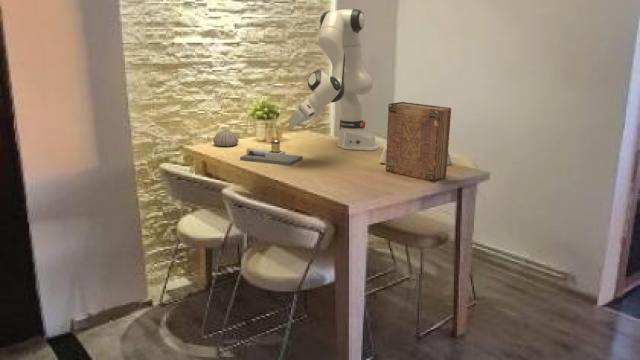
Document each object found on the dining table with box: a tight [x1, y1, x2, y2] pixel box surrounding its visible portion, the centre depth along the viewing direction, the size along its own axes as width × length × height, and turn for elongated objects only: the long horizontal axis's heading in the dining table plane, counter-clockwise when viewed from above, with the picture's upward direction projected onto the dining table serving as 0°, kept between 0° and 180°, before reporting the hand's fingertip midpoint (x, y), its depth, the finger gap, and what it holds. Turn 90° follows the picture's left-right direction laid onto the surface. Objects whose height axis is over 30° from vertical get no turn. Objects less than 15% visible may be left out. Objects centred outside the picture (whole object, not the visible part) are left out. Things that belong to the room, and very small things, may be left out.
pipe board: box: [239, 147, 304, 166], centre depth 261 cm, size 26×14×4 cm, turn 68°
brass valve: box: [270, 139, 281, 153], centre depth 260 cm, size 4×4×8 cm
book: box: [385, 101, 452, 183], centre depth 234 cm, size 25×9×30 cm, turn 46°
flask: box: [447, 151, 453, 166], centre depth 257 cm, size 7×7×10 cm
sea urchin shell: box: [212, 129, 239, 147], centre depth 292 cm, size 13×14×8 cm
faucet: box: [379, 145, 387, 165], centre depth 262 cm, size 4×18×10 cm, turn 130°
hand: (292, 126), depth 254 cm, fingers open, 8 cm apart
